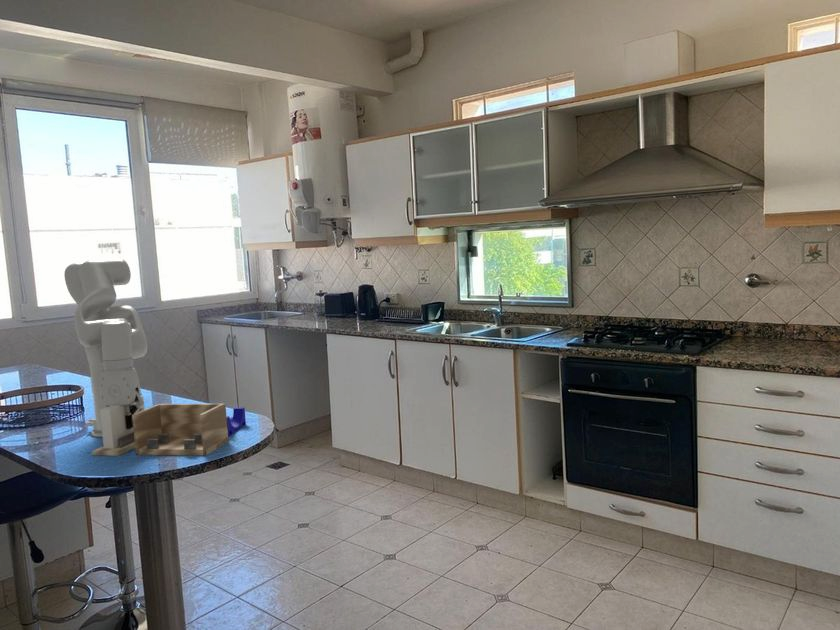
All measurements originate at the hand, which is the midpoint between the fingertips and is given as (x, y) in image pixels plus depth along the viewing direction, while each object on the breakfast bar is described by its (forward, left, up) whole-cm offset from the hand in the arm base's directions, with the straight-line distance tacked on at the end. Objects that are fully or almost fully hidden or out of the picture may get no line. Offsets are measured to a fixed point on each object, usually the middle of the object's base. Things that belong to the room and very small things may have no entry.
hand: (124, 427), depth 181 cm
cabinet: (+19, -2, -5) cm, 20 cm away
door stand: (0, 0, -5) cm, 5 cm away
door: (0, 0, -4) cm, 4 cm away
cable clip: (+25, +14, -6) cm, 29 cm away
